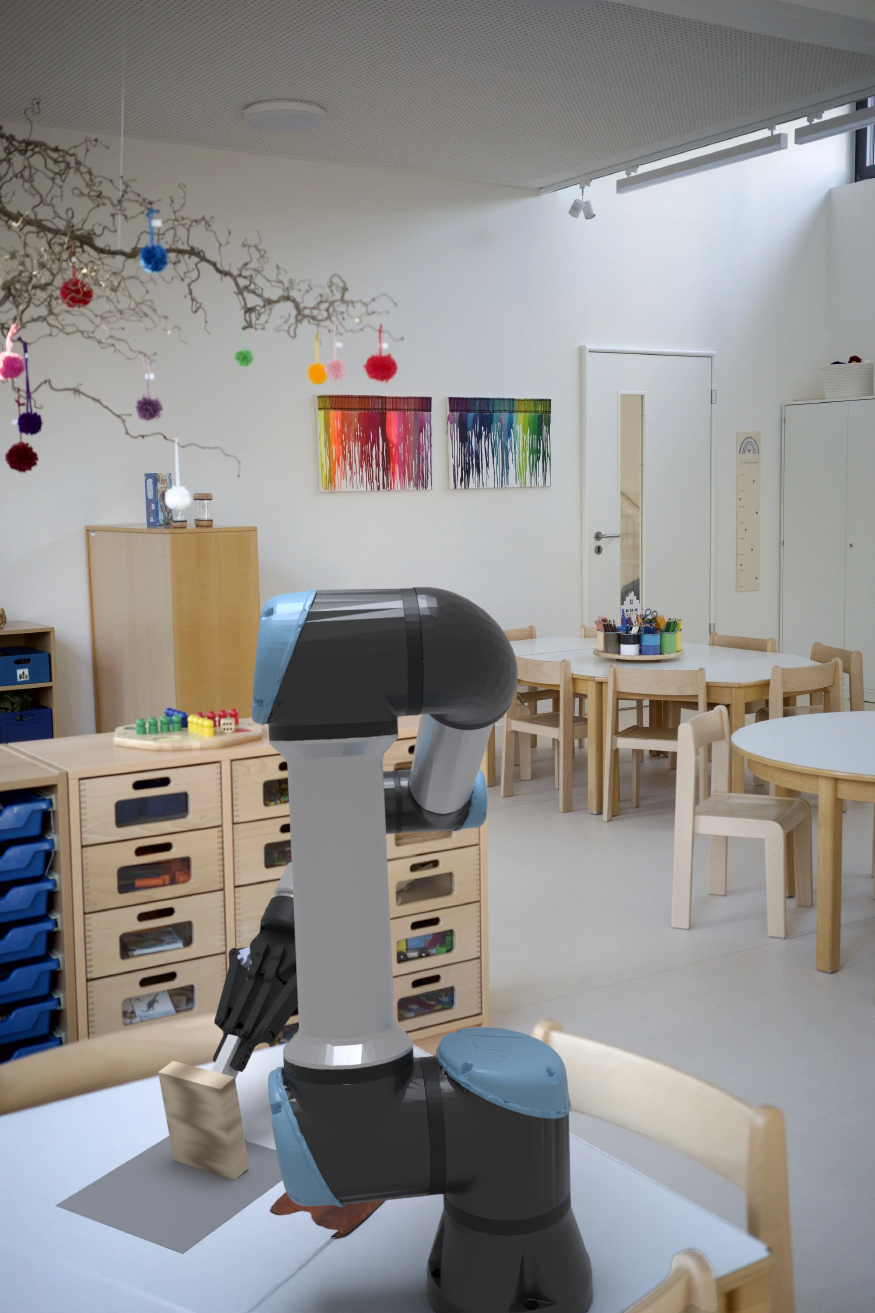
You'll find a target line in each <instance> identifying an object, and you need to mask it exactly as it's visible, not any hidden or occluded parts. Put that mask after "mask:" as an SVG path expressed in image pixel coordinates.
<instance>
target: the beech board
mask: <svg viewBox="0 0 875 1313" xmlns="http://www.w3.org/2000/svg"><path fill="white" fill-rule="evenodd" d="M158 1078H159V1085H160V1090H161V1095H162V1097H161V1098H162V1102H163V1109H164V1113H165V1114H164V1115H165V1119H166V1125H167V1129H168V1130H167V1131H168V1136H170V1142H171V1148H172V1154H173V1159H174V1160H175V1161H178V1162H181V1163H184V1164H187V1165H190V1166H193V1167H196V1168H199V1169H202V1170H205V1171H208V1172H212V1173H215V1174H218V1175H221V1176H224V1177H227V1178H230V1179H233V1180H236V1179H237V1178H238V1177H239V1176H240V1175H241V1174H242V1173H243V1172H244V1171H246V1170H247V1169H248V1168H249V1162H248V1156H247V1150H246V1143H245V1141H246V1140H245V1139H246V1138H245V1132H244V1128H243V1126H244V1125H243V1119H242V1114H241V1108H240V1101H239V1094H238V1089H237V1082H236V1079H235V1077H232V1076H228V1075H225V1074H221V1073H217V1072H213V1071H211V1070H209V1069H205V1068H202V1067H198V1066H194V1065H190V1064H187V1063H183V1062H179V1061H176V1060H172V1061H171V1062H170V1063H168V1064H167V1065H166V1066H164V1067H163V1068H162V1069H160V1070H159V1071H158Z"/></svg>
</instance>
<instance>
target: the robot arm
mask: <svg viewBox="0 0 875 1313" xmlns="http://www.w3.org/2000/svg"><path fill="white" fill-rule="evenodd" d="M513 648H514V647H513V646H512V644H511V643H510V641H509V638H508V636H507V635H506V633H505V632H504V630H503V629H502V627H501V626H500V625H499V624H498V623H497V621H496V620H495V619H494V618H493V617H492V616H491V615H490V614H489V613H488V612H487V611H486V610H484V609H483V608H482V607H481V606H479V605H478V604H476V603H474V602H473V601H472V600H470V599H469V598H466V597H464V596H463V595H460V594H459V593H456V592H454V591H453V592H452V591H449V590H447V589H444V588H443V589H442V588H438V587H433V586H431V587H429V586H419V587H418V586H413V587H406V588H373V589H372V588H368V589H367V588H363V589H362V588H361V589H360V588H359V589H357V588H356V589H355V588H353V589H311V590H308V591H307V590H305V591H298V592H290V593H281V594H276V595H274V596H272V597H270V598H269V599H267V600H266V602H265V603H264V605H263V607H262V608H261V612H260V618H259V624H258V631H257V640H256V650H255V651H256V652H255V661H254V662H255V663H254V673H253V685H252V687H253V689H252V706H251V719H252V722H254V723H255V724H259V725H261V726H262V727H263V726H264V725H268V742H269V745H270V746H271V747H272V748H273V749H274V750H276V752H277V753H278V754H279V755H280V756H282V758H284V760H285V761H286V764H287V787H288V803H289V804H288V805H289V808H288V809H289V810H288V811H289V825H290V826H289V828H290V829H289V830H290V850H291V853H290V854H291V857H290V859H289V861H288V863H287V865H286V867H285V869H284V871H283V873H282V875H281V877H280V879H279V880H278V883H277V884H276V887H275V889H274V896H273V897H271V898H270V900H269V902H268V904H267V906H266V908H265V911H264V913H263V915H262V917H261V919H260V924H259V925H260V927H259V932H258V933H257V935H256V936H255V937H254V938H253V939H252V940H251V942H250V943H249V946H246V947H245V948H242V949H240V950H238V949H237V948H236V947H231V948H230V950H229V951H228V968H227V973H226V976H225V980H224V983H223V986H222V990H221V995H220V999H219V1002H218V1005H217V1010H216V1013H215V1016H214V1021H213V1023H214V1024H215V1025H216V1027H218V1028H219V1029H220V1030H221V1031H222V1037H221V1039H220V1041H219V1044H218V1046H217V1048H216V1050H215V1052H214V1055H213V1056H212V1062H213V1063H214V1065H213V1067H212V1069H211V1070H210V1071H213V1072H217V1073H221V1074H225V1075H228V1076H232V1077H235V1080H236V1078H237V1077H238V1075H239V1073H240V1072H241V1073H243V1071H245V1070H246V1068H247V1065H248V1063H249V1061H250V1059H251V1057H252V1054H253V1053H254V1050H255V1048H256V1047H258V1046H259V1045H260V1044H265V1043H266V1044H268V1045H271V1044H273V1043H274V1042H275V1040H277V1038H278V1036H279V1034H280V1033H281V1032H282V1030H283V1028H284V1027H285V1026H286V1024H287V1023H288V1021H289V1020H290V1018H291V1017H292V1016H293V1014H294V1012H295V1010H298V1011H297V1012H298V1030H297V1031H296V1033H295V1034H294V1035H293V1036H292V1037H291V1038H290V1039H289V1040H288V1041H287V1043H286V1044H285V1045H284V1047H283V1049H282V1055H283V1066H277V1067H276V1068H275V1069H273V1070H271V1071H269V1073H268V1075H267V1077H268V1078H267V1089H268V1100H269V1105H270V1115H271V1125H272V1132H273V1137H274V1145H275V1150H276V1151H277V1157H278V1162H279V1167H280V1172H281V1176H282V1183H283V1187H284V1189H285V1192H287V1194H288V1196H289V1197H290V1199H291V1200H292V1201H293V1202H295V1203H296V1204H298V1205H301V1206H326V1205H335V1206H337V1207H344V1206H345V1205H347V1204H356V1203H366V1202H375V1201H383V1202H384V1201H393V1200H402V1199H409V1198H410V1199H411V1198H420V1197H427V1196H437V1195H442V1200H443V1208H442V1211H441V1216H440V1220H439V1223H438V1226H437V1229H436V1233H435V1236H434V1238H433V1243H432V1245H431V1249H430V1251H429V1252H430V1253H429V1256H428V1260H427V1265H426V1266H427V1267H426V1287H427V1288H426V1289H427V1290H426V1293H427V1298H428V1301H429V1304H430V1306H431V1308H432V1310H433V1311H434V1312H435V1313H586V1311H587V1310H588V1309H589V1306H590V1305H591V1302H592V1299H593V1269H592V1267H593V1266H592V1263H591V1259H590V1255H589V1253H588V1251H587V1248H586V1245H585V1242H584V1240H583V1237H582V1233H581V1231H580V1227H579V1225H578V1223H577V1220H576V1216H575V1215H574V1211H573V1208H572V1194H571V1192H572V1191H571V1186H572V1185H571V1180H572V1179H571V1146H570V1143H571V1142H570V1138H571V1137H570V1112H571V1109H572V1103H571V1099H570V1094H569V1085H568V1076H567V1068H566V1065H565V1063H564V1060H563V1059H562V1057H561V1056H560V1055H559V1053H558V1052H557V1051H556V1050H555V1049H554V1048H553V1047H552V1046H550V1045H549V1044H547V1043H546V1042H545V1041H542V1040H540V1039H539V1038H536V1037H533V1036H531V1035H529V1034H527V1033H523V1032H520V1031H516V1030H511V1029H506V1028H501V1027H489V1026H474V1027H473V1026H472V1027H465V1028H459V1029H458V1030H456V1032H453V1031H452V1032H448V1033H447V1034H445V1035H444V1036H443V1037H442V1038H441V1039H440V1041H439V1043H438V1046H437V1047H436V1050H435V1055H431V1056H421V1057H420V1056H419V1057H418V1056H417V1057H416V1056H414V1054H415V1053H414V1041H413V1037H412V1036H410V1035H409V1034H408V1033H407V1032H406V1031H405V1030H404V1029H403V1028H402V1027H400V1026H399V1025H398V1023H397V1022H396V1019H395V1018H396V1017H395V998H394V997H395V996H394V975H393V973H394V972H393V954H392V953H393V952H392V934H391V933H392V931H391V914H390V913H391V912H390V908H391V907H390V893H389V892H390V889H389V888H390V887H389V869H388V868H389V867H388V865H389V864H388V848H387V847H388V846H387V835H390V834H391V835H393V834H406V833H407V834H409V833H411V834H413V833H426V832H427V833H428V832H446V831H447V832H449V831H451V832H460V831H461V830H465V829H476V828H479V827H481V826H483V825H484V824H485V822H486V820H487V815H488V814H487V812H488V790H487V783H486V778H485V774H484V772H483V771H482V769H480V768H481V765H482V762H483V758H484V755H485V752H486V748H487V746H488V743H489V739H490V737H491V733H492V730H493V727H494V725H495V724H496V723H498V722H499V721H500V720H501V719H502V718H503V717H504V716H505V715H506V714H507V713H508V711H509V709H510V707H511V704H512V702H513V699H514V696H515V693H516V690H517V684H518V675H519V674H518V662H517V659H516V654H515V652H514V649H513ZM409 716H410V717H411V716H419V720H418V721H419V723H418V726H417V727H418V728H417V733H416V734H417V735H416V740H415V744H414V745H415V746H414V749H413V756H412V762H411V766H410V767H411V768H410V769H398V770H384V760H383V759H384V756H385V754H386V752H387V751H388V750H389V749H390V748H391V746H392V745H393V744H394V743H395V742H396V740H398V739H399V725H398V719H399V717H409Z"/></svg>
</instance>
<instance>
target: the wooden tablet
mask: <svg viewBox="0 0 875 1313" xmlns="http://www.w3.org/2000/svg"><path fill="white" fill-rule="evenodd" d="M382 1203H384V1201H375V1202H366V1203H356V1204H347V1205H345V1206H344V1207H337V1206H335V1205H326V1206H301V1205H298V1204H296V1203H295V1202H293V1201H292V1200H291V1199H290V1197H289V1196H288V1194H287V1192H286V1191H284V1193H283V1194H282V1195H281V1196H280V1197H278V1198H277V1200H276V1201H275V1202H273V1204H272V1205H271V1206H270V1209H269V1212H270V1213H271V1214H273V1215H275V1216H288V1215H292V1214H296V1213H299V1212H307V1213H309V1214H310V1217H311V1220H312V1221H313V1222H314V1224H316V1226H319V1227H323V1228H324V1229H327V1230H334V1231H336V1232H335V1233H333V1234H332V1235H331V1236H330V1238H335V1239H339V1238H342V1237H344V1236H346V1235H347V1234H348V1233H349V1232H352V1231H353V1230H354V1229H355V1228H356V1227H357V1226H358V1225H359V1224H361V1222H362V1221H364V1220H365V1219H367V1217H369V1215H370V1214H371V1213H373V1211H374V1210H376V1209H377V1208H378V1207H379V1206H380V1205H382Z"/></svg>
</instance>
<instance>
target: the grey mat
mask: <svg viewBox="0 0 875 1313" xmlns="http://www.w3.org/2000/svg"><path fill="white" fill-rule="evenodd" d="M245 1143H246V1150H247V1156H248V1162H249V1168H248V1169H247V1170H246V1171H244V1172H243V1173H242V1174H241V1175H240V1176H239V1177H238V1178H237V1179H236V1180H233V1179H230V1178H227V1177H224V1176H221V1175H218V1174H215V1173H212V1172H208V1171H205V1170H202V1169H199V1168H196V1167H193V1166H190V1165H187V1164H184V1163H181V1162H178V1161H175V1160H174V1159H173V1154H172V1148H171V1142H170V1136H169V1135H168V1136H166V1137H165V1138H163V1139H161V1140H159V1141H158V1142H156V1143H154V1144H153V1145H151V1146H150V1147H148V1148H146V1149H145V1150H143V1151H142V1152H140V1153H138V1154H137V1155H135V1156H134V1157H131V1158H130V1159H129V1160H127V1161H125V1162H123V1163H122V1164H120V1165H119V1166H117V1167H116V1168H114V1169H112V1170H110V1171H109V1172H108V1173H106V1174H104V1175H102V1176H101V1177H99V1178H98V1179H96V1180H94V1181H93V1182H91V1183H89V1184H88V1185H86V1186H84V1187H83V1188H82V1189H79V1190H78V1191H77V1192H75V1193H73V1194H71V1195H69V1197H67V1198H65V1199H63V1200H62V1201H59V1203H57V1204H56V1205H55V1207H58V1208H61V1209H64V1210H66V1211H67V1212H71V1213H74V1214H77V1215H79V1216H81V1217H84V1218H86V1219H87V1218H88V1219H90V1220H92V1221H95V1222H98V1223H100V1224H103V1225H106V1226H107V1227H111V1228H114V1229H116V1230H119V1231H121V1232H124V1233H126V1234H130V1235H131V1236H134V1237H137V1238H140V1239H143V1240H144V1241H148V1242H150V1243H152V1244H155V1245H159V1246H160V1247H164V1248H166V1249H169V1250H171V1251H174V1252H176V1253H180V1254H181V1255H184V1254H185V1253H186V1252H187V1251H189V1250H190V1249H191V1248H193V1247H194V1246H196V1245H197V1244H198V1243H199V1242H201V1241H203V1240H204V1239H205V1238H206V1237H208V1236H209V1235H210V1234H212V1233H213V1232H215V1231H216V1230H217V1229H218V1228H220V1227H222V1225H224V1224H225V1223H227V1222H228V1221H230V1220H231V1219H232V1218H233V1217H235V1216H236V1215H237V1214H239V1213H240V1212H242V1211H243V1210H244V1209H245V1208H247V1207H248V1206H250V1205H251V1204H252V1203H254V1202H255V1201H256V1200H258V1199H259V1198H261V1197H262V1196H263V1195H265V1194H266V1193H267V1192H268V1191H269V1190H271V1189H273V1188H274V1187H275V1186H276V1185H278V1184H279V1183H281V1182H283V1180H282V1176H281V1172H280V1167H279V1162H278V1157H277V1151H276V1149H274V1148H270V1147H267V1146H265V1145H260V1144H257V1143H254V1142H251V1141H249V1140H248V1141H247V1140H245Z"/></svg>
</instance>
